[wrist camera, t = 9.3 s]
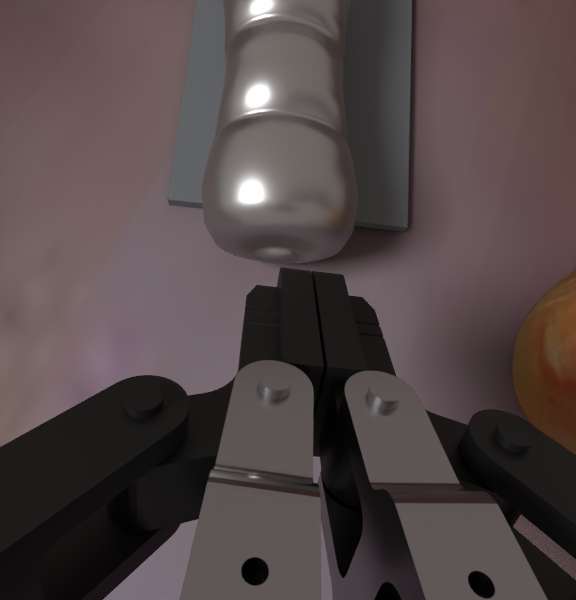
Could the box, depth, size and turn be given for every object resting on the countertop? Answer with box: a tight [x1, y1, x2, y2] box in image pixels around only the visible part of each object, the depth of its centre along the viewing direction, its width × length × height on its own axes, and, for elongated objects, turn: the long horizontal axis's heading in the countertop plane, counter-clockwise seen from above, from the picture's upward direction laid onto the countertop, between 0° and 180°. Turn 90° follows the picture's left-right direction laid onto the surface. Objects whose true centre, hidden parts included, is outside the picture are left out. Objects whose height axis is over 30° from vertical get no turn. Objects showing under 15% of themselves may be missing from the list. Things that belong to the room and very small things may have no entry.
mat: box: [168, 0, 412, 232], centre depth 25 cm, size 18×12×1 cm, turn 175°
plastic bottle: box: [201, 0, 359, 263], centre depth 22 cm, size 6×7×20 cm
